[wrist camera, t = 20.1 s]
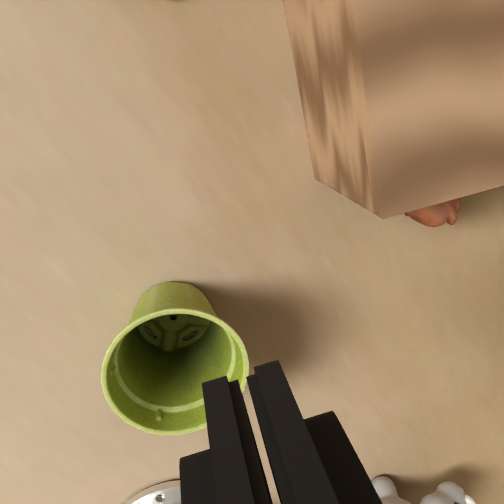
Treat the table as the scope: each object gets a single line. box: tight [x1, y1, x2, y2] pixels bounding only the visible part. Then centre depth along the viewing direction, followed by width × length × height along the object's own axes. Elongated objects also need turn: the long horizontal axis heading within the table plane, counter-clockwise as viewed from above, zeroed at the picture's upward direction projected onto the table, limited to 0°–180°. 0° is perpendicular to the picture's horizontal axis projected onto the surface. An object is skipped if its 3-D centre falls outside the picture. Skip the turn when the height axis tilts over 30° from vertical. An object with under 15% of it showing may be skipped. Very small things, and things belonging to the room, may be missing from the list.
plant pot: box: [101, 282, 249, 435], centre depth 35 cm, size 9×9×9 cm
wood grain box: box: [284, 0, 504, 219], centre depth 29 cm, size 15×12×12 cm
